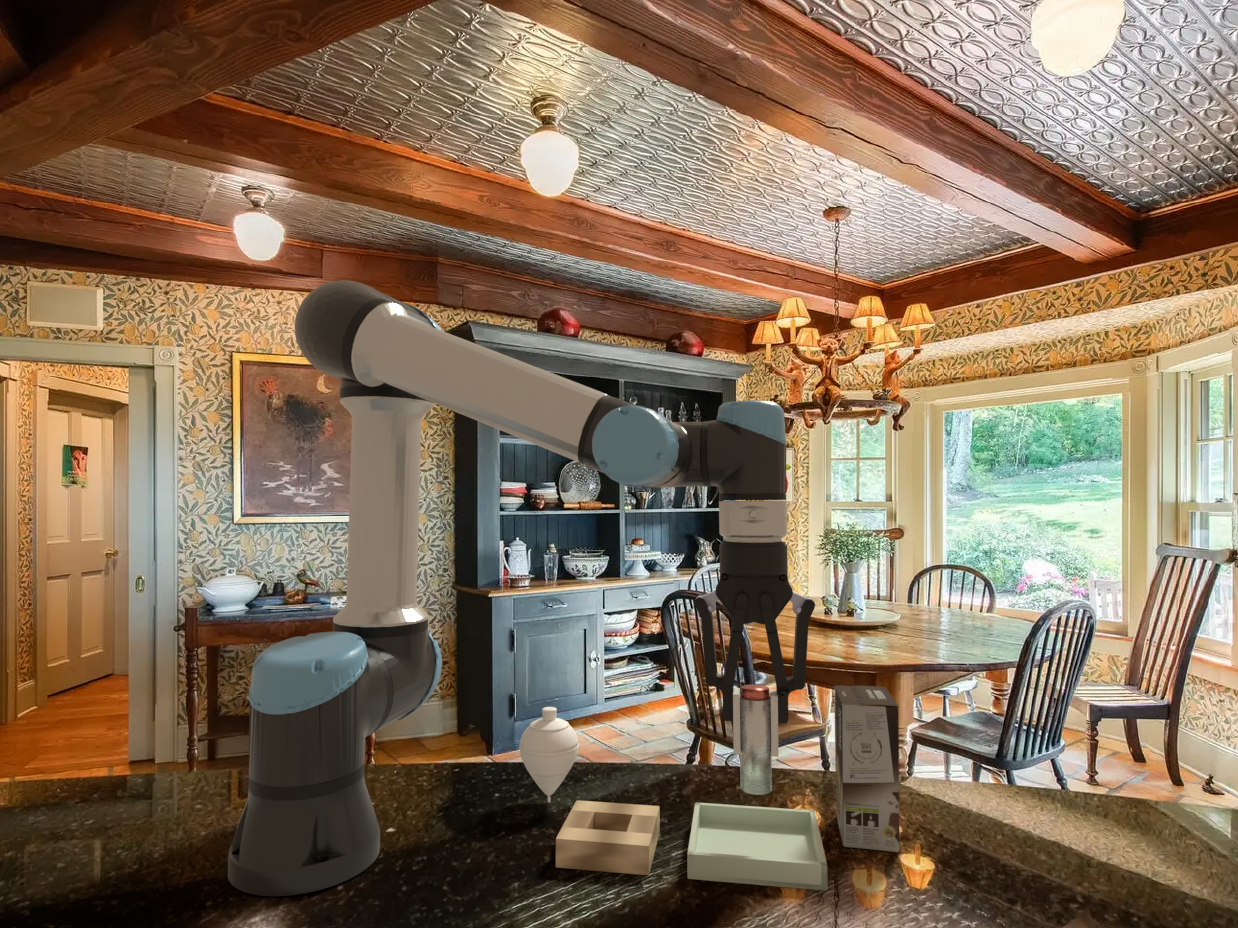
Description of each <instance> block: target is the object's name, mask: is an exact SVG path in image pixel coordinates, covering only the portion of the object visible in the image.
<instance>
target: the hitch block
mask: <svg viewBox="0 0 1238 928" xmlns="http://www.w3.org/2000/svg"><path fill="white" fill-rule="evenodd" d="M660 811H661V810H660V806H659V805H650V804H649V805H648V804H633V803H622V802H621V803H619V802H604V801H591V800H576V801H575V802H574V804H573V806H572V808H571V809H570V812H569V813H568V815H567V817H566V819H565V820H564V823H562V826H561V828H560V830H559V832H558V834H557V836H556V838H555V868H560V869H571V870H582V871H594V872H606V873H616V874H617V873H618V874H628V875H630V874H631V875H639V876H640V875H643V876H650V873H651V869H652V864H653V861H654V857H655V852H656V848H657V844H658V840H659V836H660V832H661V831H660V830H661V829H660V828H661V827H660V824H661V823H660V822H661V821H660V819H661V818H660V816H661V815H660V814H661V813H660Z"/></svg>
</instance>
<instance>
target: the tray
mask: <svg viewBox="0 0 1238 928" xmlns="http://www.w3.org/2000/svg"><path fill="white" fill-rule="evenodd" d="M825 853H826V852H825V849H824V846H823V839H822V837H821V831H820V828H819V823H818V820H817V815H816V810H812V809H811V810H809V809H797V808H781V807H767V806H754V805H740V804H739V805H738V804H727V803H726V804H722V803H710V802H709V803H707V802H697V801H696V802H695V803H694V808H693V815H692V821H691V830H690V835H689V841H688V847H687V859H686V861H687V865H686V866H687V879H688V880H700V881H709V882H721V883H733V884H746V885H757V886H767V887H779V888H780V887H781V888H789V889H790V888H792V889H803V890H814V891H824V892H825V891H827V892H828V889H829V888H828V863H827V858H826V855H825Z"/></svg>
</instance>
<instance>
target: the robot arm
mask: <svg viewBox="0 0 1238 928" xmlns="http://www.w3.org/2000/svg"><path fill="white" fill-rule="evenodd" d="M294 318H295V319H294V334H295V339H296V343H297V346H298V348H299V351H300V352H301V353H302V355H303V356H304V358H305V360H306V361H308V363H310V365H312V366H313V367H314V368H315V369H317V371H320V373H323V374H325V375H327V376H328V377H329V376H330V377H332V378H334V379H338V380H340V382H339V385H340V388H339V403H340V404H341V405H342V406H343V408H345V409H346V410H347V412H349V414H350V416H351V439H350V442H351V443H350V474H349V475H350V476H349V503H348V504H349V506H348V537H347V568H346V571H347V573H346V602H345V605H344V607H342V609H340V610H339V611H338V612H337V613H336V614H335V615H334V616H333V619H332V631H324V632H323V631H321V632H314V633H309V634H307V635H305V636H294V637H291V638H287V639H284V640H281V641H279V642H277V643H274V644H272V645H270V646H269V647H267V648H264V650H263V651H261V652H260V653H259V654H258V656H256V658H255V660H254V661H253V665H252V669H251V681H250V685H249V687H248V702H249V723H248V726H249V727H248V729H249V731H248V732H249V733H248V734H249V735H248V736H249V737H248V738H249V739H248V741H249V742H248V795H247V798H246V802H245V805H244V807H243V811H242V813H241V816H240V819H239V822H238V825H237V827H236V831H235V832H234V835H233V839H232V842H231V844H230V847H229V850H228V856H227V857H228V858H227V859H228V860H227V863H228V864H227V879H228V881H229V883H230V885H231V886H232V887H234V888H235V889H237V890H239V891H241V892H243V893H246V894H250V895H254V896H262V897H286V896H296V895H305V894H309V893H313V892H316V891H320V890H324V889H328V888H330V887H331V888H332V887H334V886H336V885H339V884H342V883H345V882H346V881H348V880H351V879H352V878H354V877H357V876H358V875H359V874H361V873H362V872H364V871H365V870H367V869H368V868H369V867H370V866H372V864H373V863H374V862H375V861H376V859H377V858H378V857H379V854H380V850H381V830H380V829H381V827H380V824H379V821H378V819H377V815H376V812H375V809H374V805H373V802H372V799H371V796H370V793H369V790H368V787H367V784H366V780H365V779H366V778H365V760H366V759H365V758H366V751H365V750H366V738H367V737H369V736H371V735H372V734H374V733H376V732H379V731H380V730H381V729H384V728H385V727H387V726H388V725H390V724H392V723H394V722H396V721H400V720H403V719H405V718H406V717H407V718H408V716H410V715H412V714H413V713H414V712H416V710H417V709H418V708H420V707H421V706H422V705H423V704H425V703H426V702H427V701H428V700H429V698H430V697H431V696H432V694H434V692H435V690H436V688H437V686H438V684H439V682H440V679H441V674H442V670H443V669H442V667H443V660H442V653H441V648H440V647H439V643H438V641H437V640H435V639H434V637H433V634H432V633H431V632H430V631H429V615H428V613H427V612H426V611H425V609H423V608H422V607H421V606H420V605H419V603H418V601H417V597H418V596H417V594H418V562H419V561H418V557H419V517H420V487H421V486H420V484H421V482H420V480H421V479H420V478H421V473H420V472H421V450H422V449H421V447H422V446H421V443H422V420H423V418H424V417H425V416H426V415H427V414H428V413H429V412H430V411H431V410H432V409H433V408H434V406H435V405H434V404H436V405H438V406H440V407H443V408H445V409H448V410H450V411H453V412H455V413H457V414H460V415H463V416H465V417H468V418H470V419H472V420H475V421H477V422H480V423H482V424H484V425H487V426H488V427H489V426H490V427H492V428H494V429H496V430H500V432H504V433H506V434H509V435H512V436H514V437H516V438H519V439H521V440H523V441H526V442H529V443H531V444H533V445H535V446H538V447H540V448H542V449H546V450H548V451H549V452H550V451H551V452H553V453H555V454H558V455H560V456H562V457H565V458H568V459H569V460H573V461H575V462H577V463H579V464H582V465H585V466H586V467H588V468H591V469H593V470H596V471H599V472H600V473H603V474H605V475H606V476H607V477H608V478H609V479H610V480H612V481H614V482H616V483H618V484H619V485H620V486H621V487H627V488H637V489H651V488H682V487H686V488H687V487H690V488H691V487H707V488H708V487H709V488H710V487H718V491H719V495H718V496H719V497H718V518H719V519H718V521H719V522H718V523H719V525H718V526H719V528H718V529H719V531H718V532H719V533H718V534H719V535H720V536H721V537H724V539H723V540H722V541H721V542H720V544H719V546H718V547H719V579H718V582H717V584H716V587H715V590H713V591H711V592H708V593H706V594H704V595H703V594H698V595H697V596H696V598H695V599H694V607H695V609H696V611H697V613H698V615H699V617H700V619H701V620H700V623H701V633H702V635H701V636H702V646H703V647H702V648H703V659H704V661H703V662H704V671H705V675H704V676H705V682H706V684H707V686H708V687H714V688H716V689H718V690H719V691H720V692H721V693H722V718H723V721H724V722H732V723H733V725H732V726H733V727H732V729H733V731H732V734H733V755H737V756H738V755H741V745H740V695H741V687H738V688H736V687H735V680H736V675H737V669H738V667H737V666H738V662H739V656H740V649H741V642H742V636H743V631H744V625H747V624H752V623H757V624H758V625H764V626H765V627H764V628H765V633H766V637H767V642H768V648H769V654H770V658H771V664H772V669H773V675H774V681H775V686H776V687H775V688H776V689H770V688H769V696H770V705H771V757H774V758H775V757H776V758H777V757H778V758H779V751H780V750H779V724H785V725H786V724H788V722H789V695H790V694H791V693H792V692H794V691H797V690H798V691H801V690H803V689H804V688H805V686H806V676H807V675H806V673H807V658H808V657H807V655H808V642H809V641H808V640H809V639H808V638H809V624H810V623H809V621H810V619H811V617H812V614H813V613H814V610H815V608H816V603H815V601H814V600H813V598H812V597H810V596H803V595H801V594H799V593H796V592H794V591H793V587H792V585H791V584H790V581H789V576H788V575H789V570H788V569H789V568H788V563H789V561H788V544H787V543H786V541H783V540H782V539H783V537H786V536H787V534H788V509H787V508H788V507H787V502H788V501H787V437H786V422H785V421H786V419H785V411H784V409H783V408H782V407H781V405H780V404H778V403H777V402H774V401H769V400H753V399H752V400H751V399H750V400H739V401H729V402H724V403H721V405H719V407H718V410H717V416H716V420H713V419H712V420H707V421H705V420H704V421H671V420H669V419H667V418H666V417H665V416H664V415H663V414H662V413H660V412H658V411H657V410H654V409H652V408H650V407H647V406H644V405H641V404H640V405H636V404H633V403H631V402H628V401H625V400H623V399H620V398H618V397H614V396H611V395H608V394H607V393H604V392H602V391H600V390H597V389H594V388H592V387H589V386H586V385H584V384H581V383H579V382H577V381H573V380H571V379H570V378H569V379H568V378H566V377H564V376H560V375H558V374H555V373H553V372H550V371H549V370H548V371H547V370H545V369H543V368H540V367H537V366H534V365H533V364H529V363H528V362H527V363H526V362H524V361H521V360H519V359H516V358H513V357H511V356H508V355H505V354H503V353H501V352H499V351H495V350H493V349H490V348H487V347H485V346H482V345H480V344H477V343H474V342H472V341H470V340H467V339H464V338H462V337H459V336H456V335H453V334H451V333H448V332H446V331H443V329H442V327H440V326H439V324H438V323H437V322H436V321H435V320H433V318H431V317H430V316H429V315H428V314H426V313H425V312H424V311H422V310H421V309H419V308H418V307H415V306H414V305H412V304H410V303H407V302H402V301H400V300H398V299H397V298H394V297H392V296H389V295H387V294H386V293H384V292H381V291H379V290H377V289H375V288H374V287H372V286H370V285H367V284H365V283H362V282H358V281H355V280H348V279H347V280H346V279H345V280H343V279H342V280H341V279H340V280H334V281H330V282H326V283H323V284H321V285H320V286H317V287H316V288H314V289H312V290H311V291H310V292H309V293H308V294H307V295H306V296H305V298H304V299H303V300H302V301H301V304H300V305H299V306H298V308H297V312H296V314H295V317H294ZM717 601H720V603H721V605H723V607H724V608H725V609H726V611H727V613H728V614H729V615H730V617H731V618H732V623H731V629H730V630H731V631H730V635H729V641H728V648H727V652H726V653H727V654H726V659H725V660H726V661H725V665H724V666H725V667H724V672H723V675H722V674H721V673H718V664H717V663H718V662H717V650H716V638H715V637H716V636H715V626H714V625H715V624H714V616H713V613H715V611H716V610H717V609H716V608H717V605H716V604H717ZM789 602H791V603H792V606H791V607H792V608H791V609H792V612H793V613H794V614H795V625H794V640H793V641H794V643H793V661H792V675H791V676H788V677H787V674H786V672H785V670H786V669H785V665H784V659H783V654H782V653H783V652H782V649H781V644H780V637H779V633H778V632H779V631H778V626H777V621H776V619H778V616H779V615H780V614H781V613H782V612H783V610H784V609H785V608H786V606H787V605H788V603H789Z"/></svg>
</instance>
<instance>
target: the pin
mask: <svg viewBox="0 0 1238 928" xmlns="http://www.w3.org/2000/svg"><path fill="white" fill-rule="evenodd" d="M740 745H741V755H740V757H739V758H740V760H739V762H740V764H739V765H740V766H739V767H740V770H739V771H740V790H741V791H743V792H744V793H746V794H749V795H757V796H760V795H761V796H763V795H768V794H770V793H772V791H773V783H772V782H773V781H772V779H773V776H772V775H773V774H772V773H773V772H772V766H773V765H772V756H771V705H770V687H768V686H765V685H762V684H745V685H742V686H740Z"/></svg>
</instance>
